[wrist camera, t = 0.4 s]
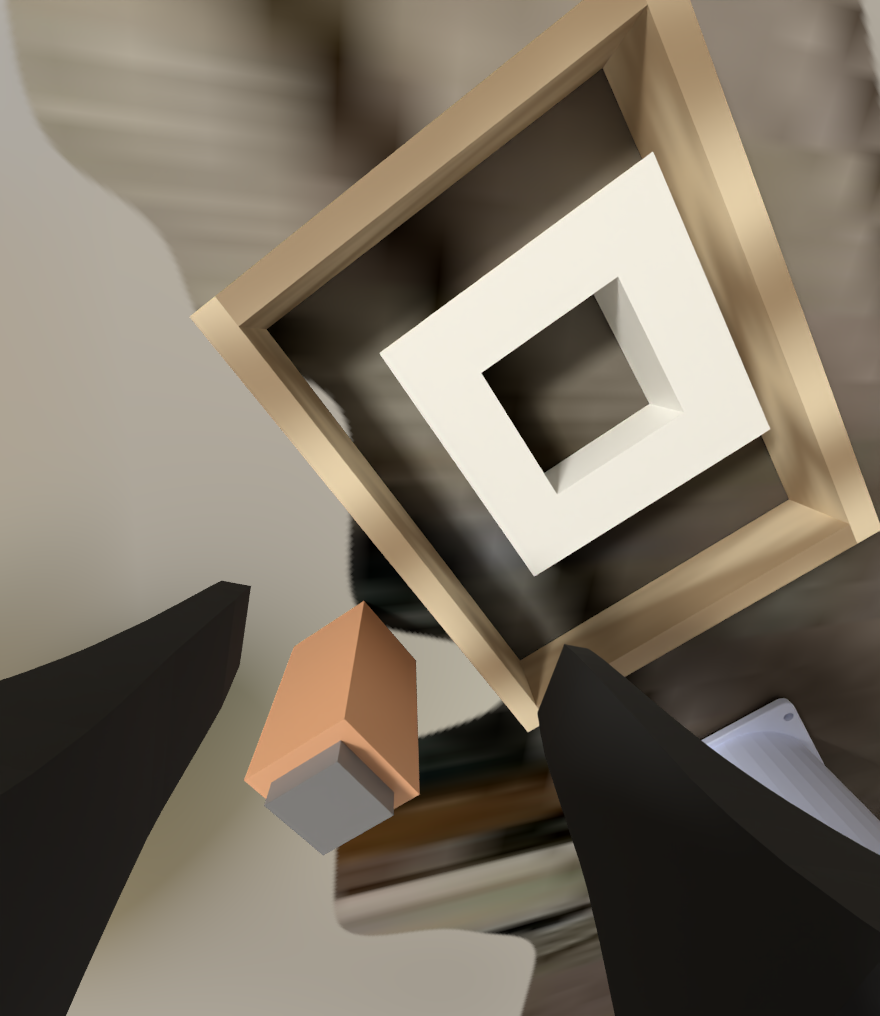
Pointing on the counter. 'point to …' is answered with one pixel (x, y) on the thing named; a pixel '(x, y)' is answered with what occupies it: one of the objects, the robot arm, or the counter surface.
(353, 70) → the counter surface
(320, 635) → the peg
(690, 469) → the tray
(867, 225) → the counter surface
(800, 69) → the counter surface
